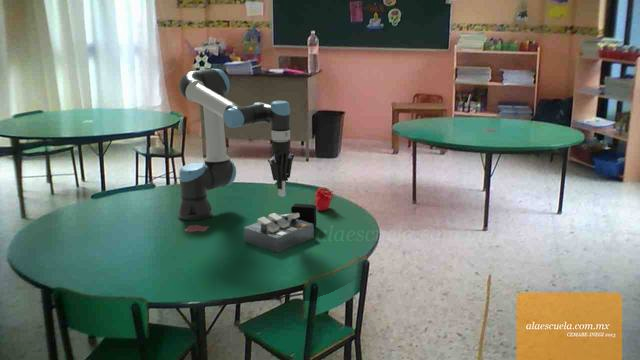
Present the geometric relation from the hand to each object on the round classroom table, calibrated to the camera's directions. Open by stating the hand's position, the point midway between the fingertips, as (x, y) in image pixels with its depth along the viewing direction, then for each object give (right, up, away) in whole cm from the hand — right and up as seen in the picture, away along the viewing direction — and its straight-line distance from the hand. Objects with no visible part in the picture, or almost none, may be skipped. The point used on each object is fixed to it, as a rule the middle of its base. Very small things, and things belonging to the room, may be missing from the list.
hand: (281, 195), depth 258 cm
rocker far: (+3, -9, 0) cm, 9 cm away
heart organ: (+17, -7, +34) cm, 39 cm away
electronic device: (+9, -14, +11) cm, 20 cm away
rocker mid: (-1, -10, -4) cm, 11 cm away
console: (-1, -18, -2) cm, 18 cm away
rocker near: (-5, -11, -9) cm, 15 cm away
